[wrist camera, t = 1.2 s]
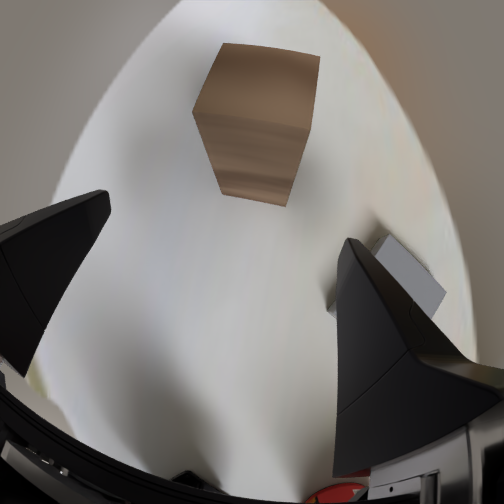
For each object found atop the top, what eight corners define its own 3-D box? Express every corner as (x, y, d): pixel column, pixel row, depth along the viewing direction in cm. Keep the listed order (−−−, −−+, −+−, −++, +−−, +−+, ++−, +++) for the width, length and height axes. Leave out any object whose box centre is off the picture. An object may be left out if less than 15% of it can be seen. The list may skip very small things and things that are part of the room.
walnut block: (285, 206, 23) (310, 130, 11) (222, 194, 23) (192, 111, 11) (295, 151, 24) (320, 56, 12) (236, 140, 24) (223, 43, 12)
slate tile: (386, 361, 21) (398, 367, 19) (325, 310, 22) (333, 313, 20) (431, 292, 22) (446, 292, 20) (377, 239, 23) (389, 233, 20)
